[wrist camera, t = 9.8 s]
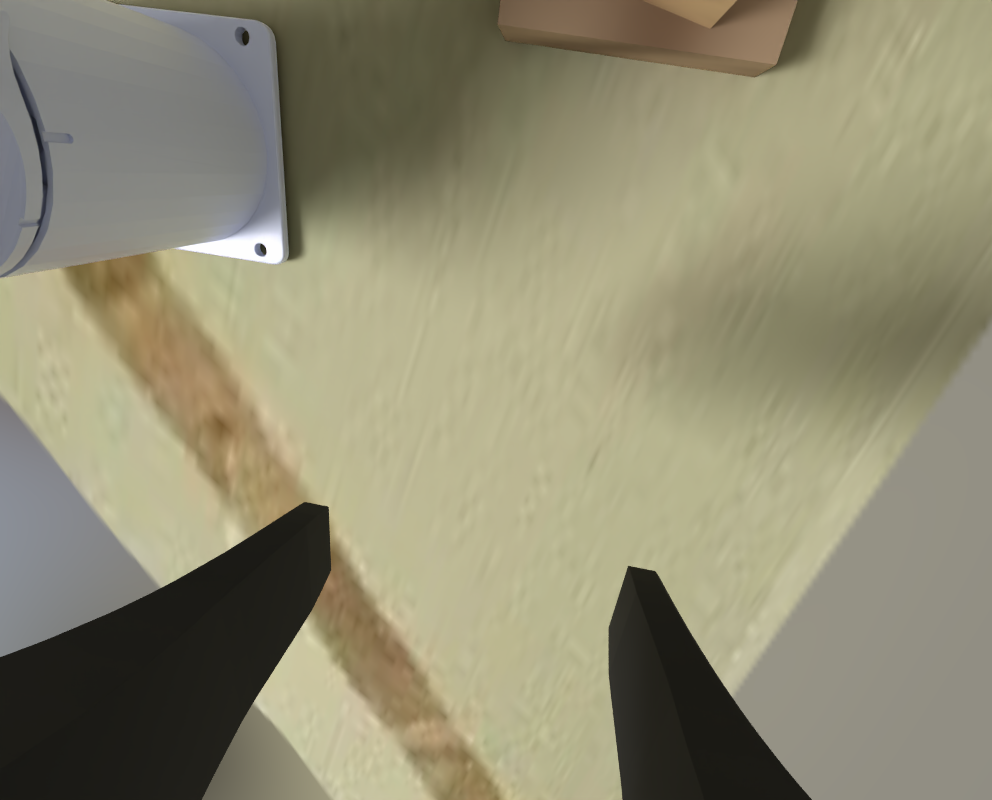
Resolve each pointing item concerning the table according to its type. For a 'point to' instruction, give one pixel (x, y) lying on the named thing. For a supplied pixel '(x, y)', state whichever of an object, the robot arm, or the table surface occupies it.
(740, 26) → the base block
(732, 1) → the top block
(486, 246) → the table surface
